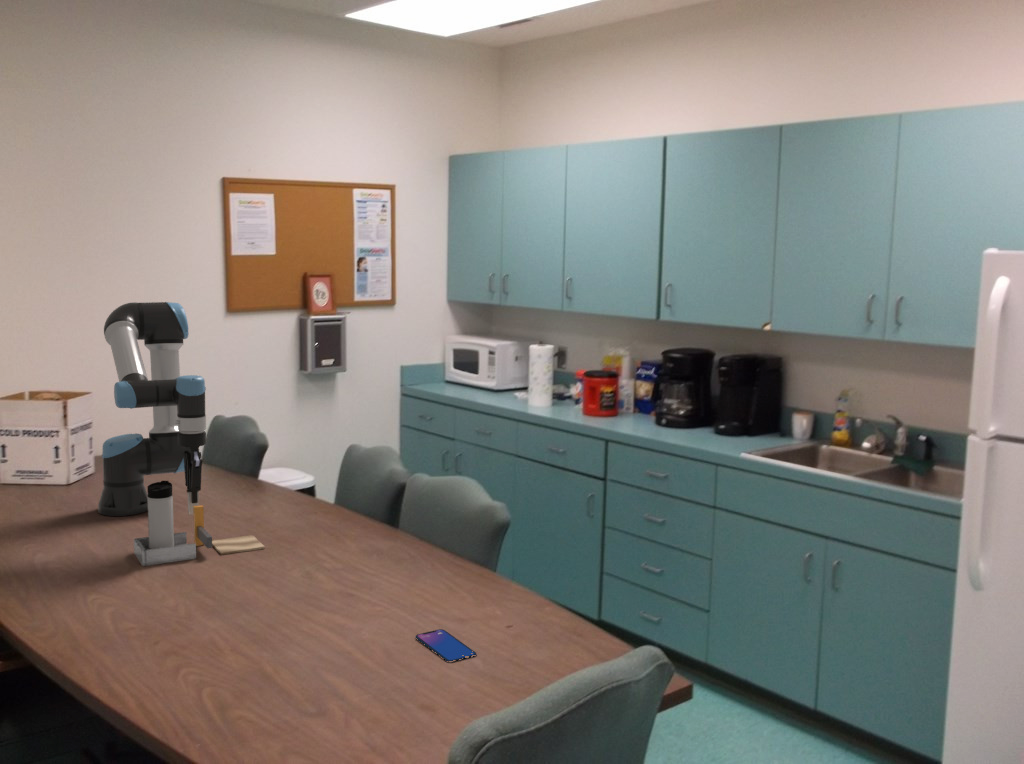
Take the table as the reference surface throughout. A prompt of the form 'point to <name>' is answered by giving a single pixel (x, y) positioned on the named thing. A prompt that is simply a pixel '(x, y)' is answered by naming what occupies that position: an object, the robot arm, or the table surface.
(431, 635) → the smartphone
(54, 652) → the table surface
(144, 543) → the holder
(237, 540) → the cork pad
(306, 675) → the table surface
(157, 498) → the travel mug
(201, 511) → the bar
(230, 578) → the table surface
